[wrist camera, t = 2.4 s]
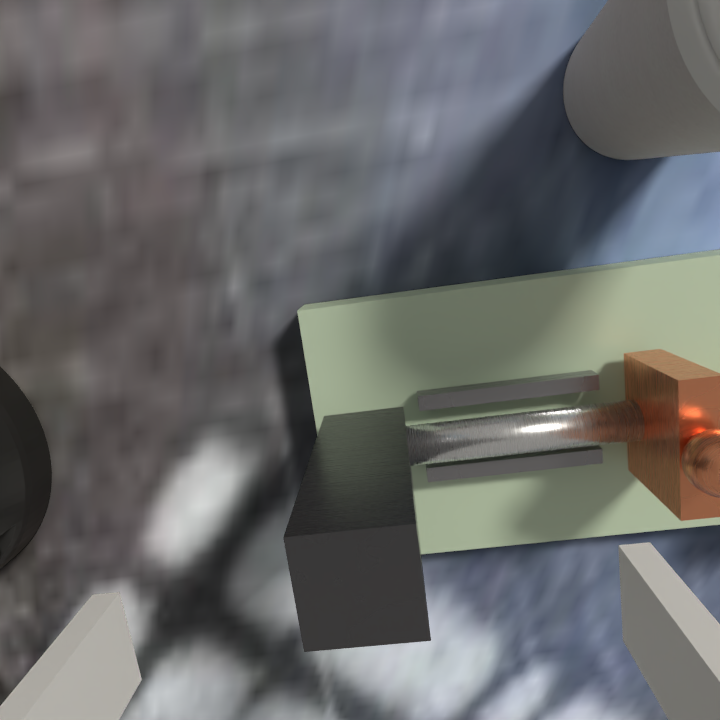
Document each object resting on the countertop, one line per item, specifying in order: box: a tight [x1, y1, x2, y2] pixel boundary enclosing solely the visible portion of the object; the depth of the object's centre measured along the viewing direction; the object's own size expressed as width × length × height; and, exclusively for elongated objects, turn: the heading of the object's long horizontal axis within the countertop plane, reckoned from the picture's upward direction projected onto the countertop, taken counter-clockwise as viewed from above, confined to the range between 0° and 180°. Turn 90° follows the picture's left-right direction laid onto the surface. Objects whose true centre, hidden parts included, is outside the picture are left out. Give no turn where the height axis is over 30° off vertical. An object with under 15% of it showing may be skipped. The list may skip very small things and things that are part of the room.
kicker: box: [283, 349, 720, 652], centre depth 21 cm, size 16×6×11 cm, turn 98°
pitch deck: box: [297, 249, 720, 554], centre depth 28 cm, size 23×13×2 cm, turn 98°
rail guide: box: [417, 370, 603, 482], centre depth 26 cm, size 8×4×1 cm, turn 98°
